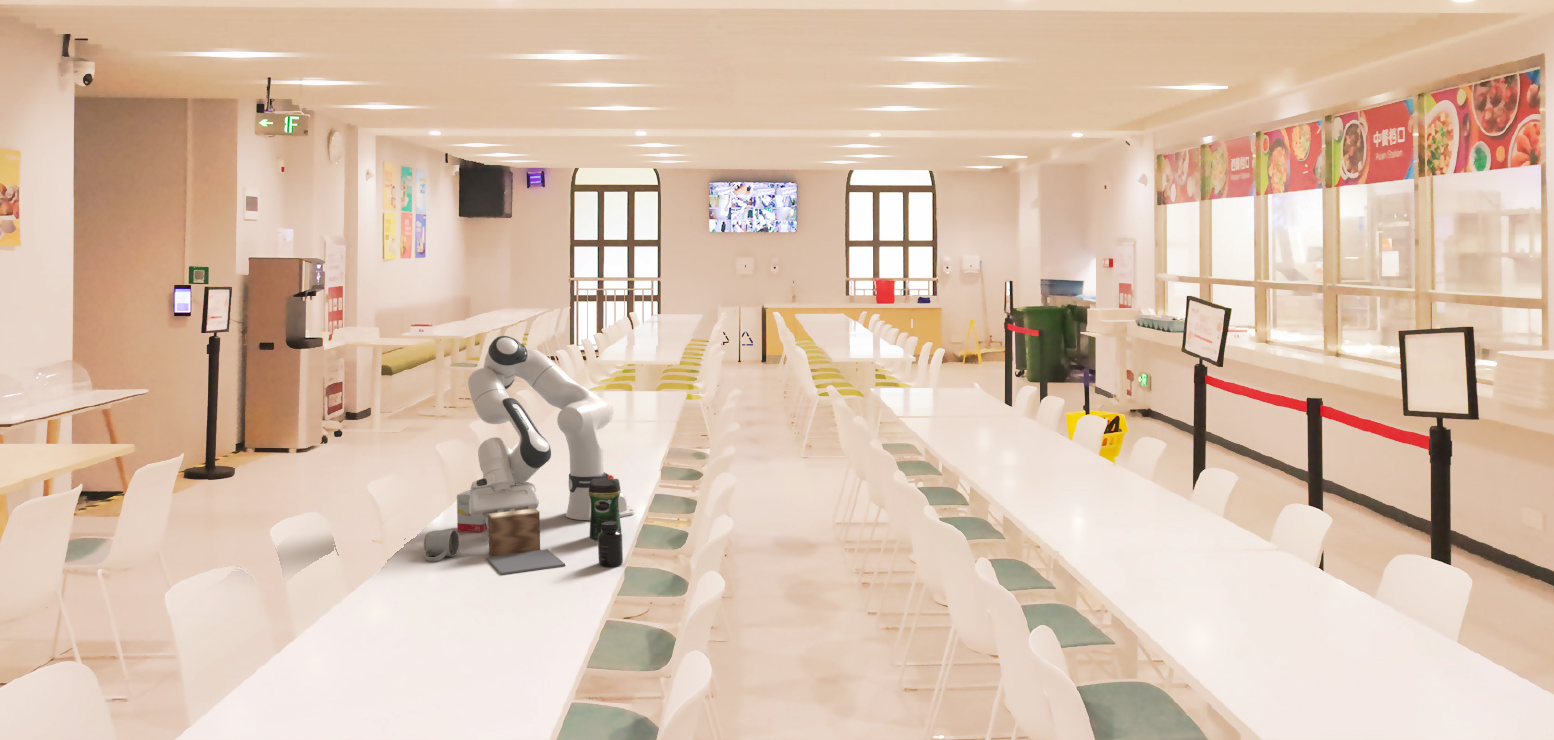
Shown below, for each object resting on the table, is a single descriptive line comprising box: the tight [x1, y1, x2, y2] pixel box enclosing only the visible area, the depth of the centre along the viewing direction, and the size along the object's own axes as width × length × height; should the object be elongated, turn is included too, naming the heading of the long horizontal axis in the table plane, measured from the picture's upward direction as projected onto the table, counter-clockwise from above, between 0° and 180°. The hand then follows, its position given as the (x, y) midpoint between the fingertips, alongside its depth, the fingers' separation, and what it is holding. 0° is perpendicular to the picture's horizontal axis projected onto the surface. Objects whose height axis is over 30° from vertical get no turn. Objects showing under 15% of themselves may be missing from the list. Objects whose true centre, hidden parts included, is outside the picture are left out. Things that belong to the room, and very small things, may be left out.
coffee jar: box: [589, 478, 622, 541], centre depth 334 cm, size 10×8×19 cm
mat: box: [486, 548, 566, 576], centre depth 308 cm, size 18×17×1 cm
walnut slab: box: [487, 508, 541, 556], centre depth 318 cm, size 14×4×12 cm, turn 118°
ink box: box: [456, 489, 488, 534], centre depth 344 cm, size 9×9×12 cm
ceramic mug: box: [423, 529, 460, 563], centre depth 313 cm, size 11×8×8 cm
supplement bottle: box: [597, 521, 624, 568], centre depth 307 cm, size 7×7×12 cm
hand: (508, 524), depth 320 cm, fingers closed
